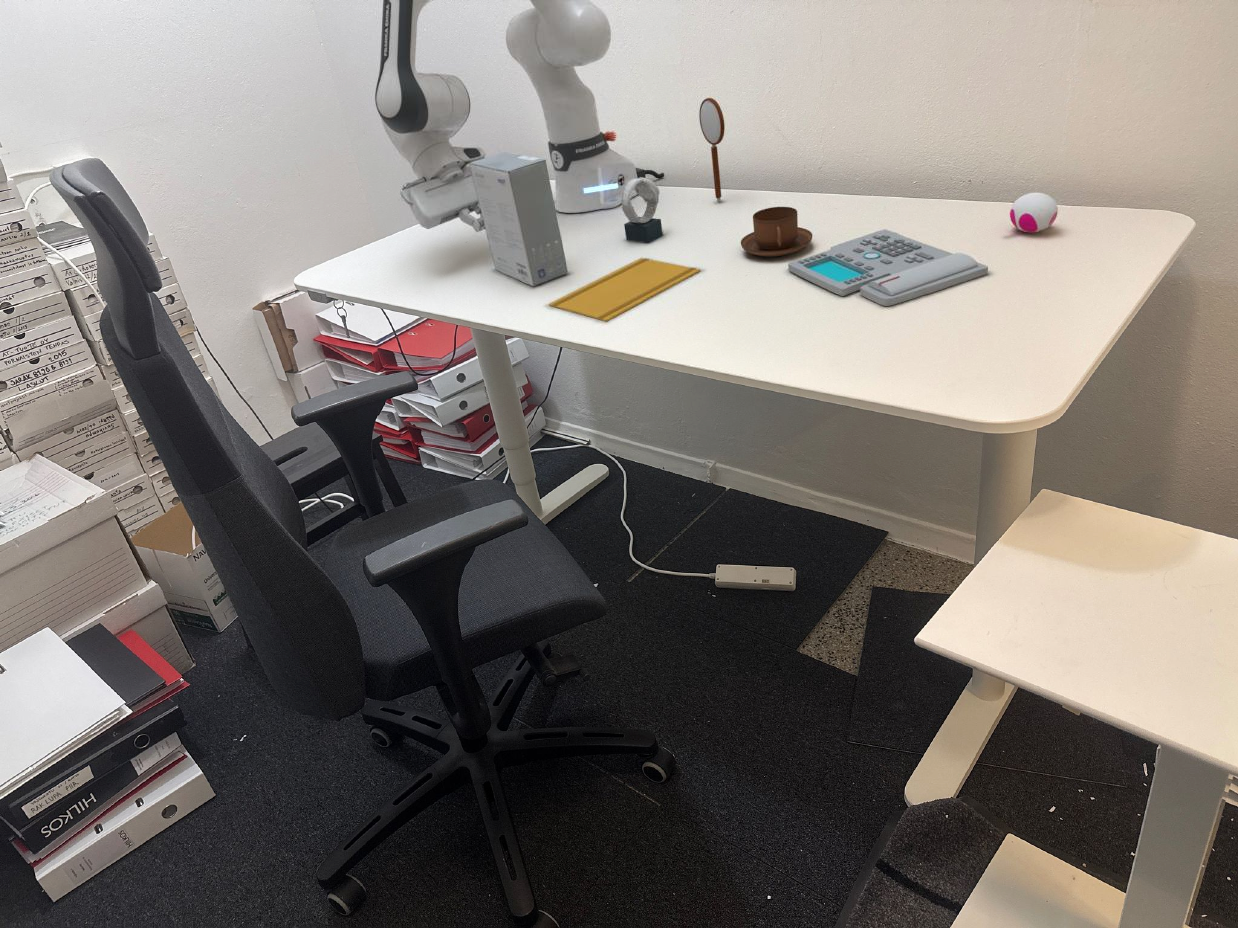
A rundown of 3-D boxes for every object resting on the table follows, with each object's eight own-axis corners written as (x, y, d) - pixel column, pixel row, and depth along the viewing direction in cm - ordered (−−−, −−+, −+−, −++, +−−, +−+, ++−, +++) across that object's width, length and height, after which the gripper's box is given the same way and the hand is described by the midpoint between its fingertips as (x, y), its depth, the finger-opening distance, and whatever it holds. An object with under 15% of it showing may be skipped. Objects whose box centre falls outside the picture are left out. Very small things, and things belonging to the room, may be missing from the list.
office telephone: (991, 257, 117) (876, 297, 112) (989, 274, 119) (876, 314, 113) (885, 221, 136) (781, 253, 130) (884, 236, 137) (782, 269, 132)
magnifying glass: (733, 205, 165) (724, 99, 154) (725, 207, 164) (716, 101, 153) (712, 197, 172) (702, 95, 161) (705, 199, 171) (695, 97, 160)
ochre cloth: (641, 259, 147) (641, 257, 146) (700, 271, 137) (700, 269, 137) (549, 305, 135) (548, 303, 135) (606, 321, 126) (606, 319, 126)
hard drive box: (570, 274, 146) (547, 159, 135) (533, 288, 143) (507, 172, 132) (528, 257, 158) (504, 150, 147) (493, 270, 154) (466, 162, 144)
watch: (669, 232, 157) (661, 173, 151) (642, 246, 152) (633, 186, 147) (646, 229, 161) (639, 172, 155) (620, 243, 156) (610, 185, 150)
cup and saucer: (825, 250, 136) (825, 213, 133) (759, 268, 134) (757, 231, 131) (792, 232, 146) (791, 197, 143) (730, 248, 144) (727, 213, 141)
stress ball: (1003, 247, 134) (985, 219, 130) (1041, 210, 133) (1023, 181, 129) (1036, 258, 127) (1018, 229, 124) (1076, 219, 126) (1058, 189, 123)
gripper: (398, 176, 147) (442, 235, 146) (488, 145, 158) (530, 200, 157) (393, 198, 153) (435, 256, 151) (480, 167, 163) (521, 221, 162)
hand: (484, 228), depth 154 cm, fingers closed
